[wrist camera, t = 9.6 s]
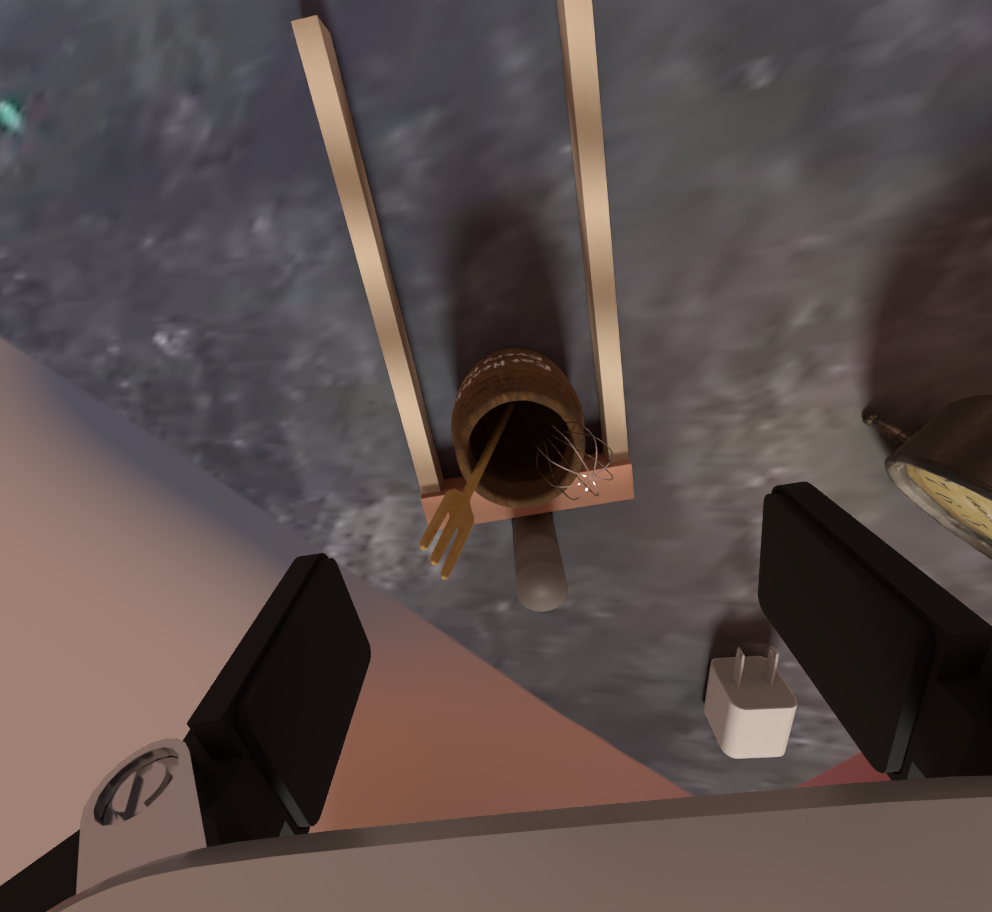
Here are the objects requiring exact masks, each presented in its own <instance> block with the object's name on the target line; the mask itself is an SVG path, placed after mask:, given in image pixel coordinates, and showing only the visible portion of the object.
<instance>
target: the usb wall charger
mask: <svg viewBox="0 0 992 912" xmlns="http://www.w3.org/2000/svg"><path fill="white" fill-rule="evenodd" d="M773 652H774V654H775V657H774V656H773ZM740 655H741V657H740ZM778 656H779V654H778V652H777V651H776V649H775V648H774V647H773V646H771V648H770V651H769V655H768V659H767V658H765V657H762V656H748V657H745V655H744V654H743V652H742V650H741V649H740V647H738V649H737V653H736V657H728V658H714V659H712V661H711V665H710V672H709V678H708V685H707V692H706V698H705V705H704V712H705V714H706V717H707V719H708V721H709V723H710V725H711V727H712V730H713V732H714V734H715V736H716V738H717V740H718V743H719V745H720V747H721V749H722V750H723V752H724V753H725V754H727V755H728V756H730V757H732V758H760V757H780V756H782V755H784V753H785V750H786V746H787V742H788V738H789V734H790V730H791V726H792V722H793V719H794V715H795V711H796V707H797V698H796V697H795V695H794V694H793V692H792V691H791V689H790V688H789V686H788V685H787V683H786V682H785V681H784V679H783V678H782V676H781V675H780V673H779V672H778V670H777V669H776V668H777V662H778Z"/></svg>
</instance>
